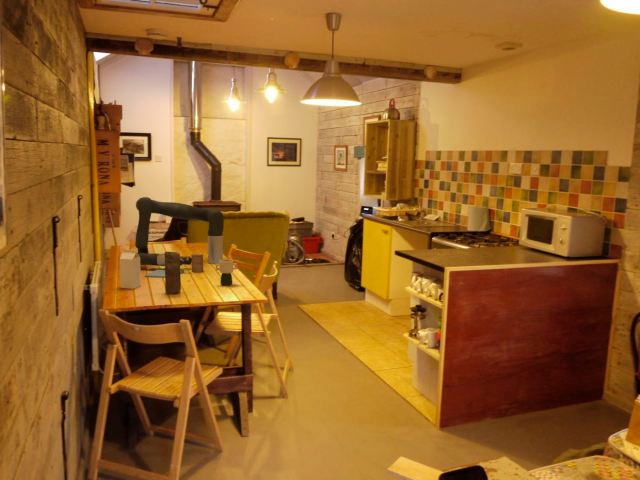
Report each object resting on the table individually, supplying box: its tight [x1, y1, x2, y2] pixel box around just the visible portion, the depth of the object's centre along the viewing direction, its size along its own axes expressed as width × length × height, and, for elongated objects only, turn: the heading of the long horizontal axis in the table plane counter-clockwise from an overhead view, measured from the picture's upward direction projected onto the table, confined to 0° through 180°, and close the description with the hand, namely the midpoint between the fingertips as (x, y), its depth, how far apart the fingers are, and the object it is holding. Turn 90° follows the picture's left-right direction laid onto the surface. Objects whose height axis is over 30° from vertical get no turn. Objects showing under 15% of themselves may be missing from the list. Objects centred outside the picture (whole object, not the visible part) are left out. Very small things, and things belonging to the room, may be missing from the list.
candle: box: [164, 251, 182, 295], centre depth 261 cm, size 8×7×20 cm
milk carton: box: [119, 249, 142, 290], centre depth 270 cm, size 7×7×19 cm
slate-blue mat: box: [144, 269, 185, 279], centre depth 301 cm, size 16×16×1 cm
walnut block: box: [190, 253, 204, 274], centre depth 309 cm, size 5×5×10 cm
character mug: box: [215, 258, 238, 286], centre depth 279 cm, size 11×7×13 cm, turn 107°
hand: (193, 261), depth 310 cm, fingers open, 8 cm apart
